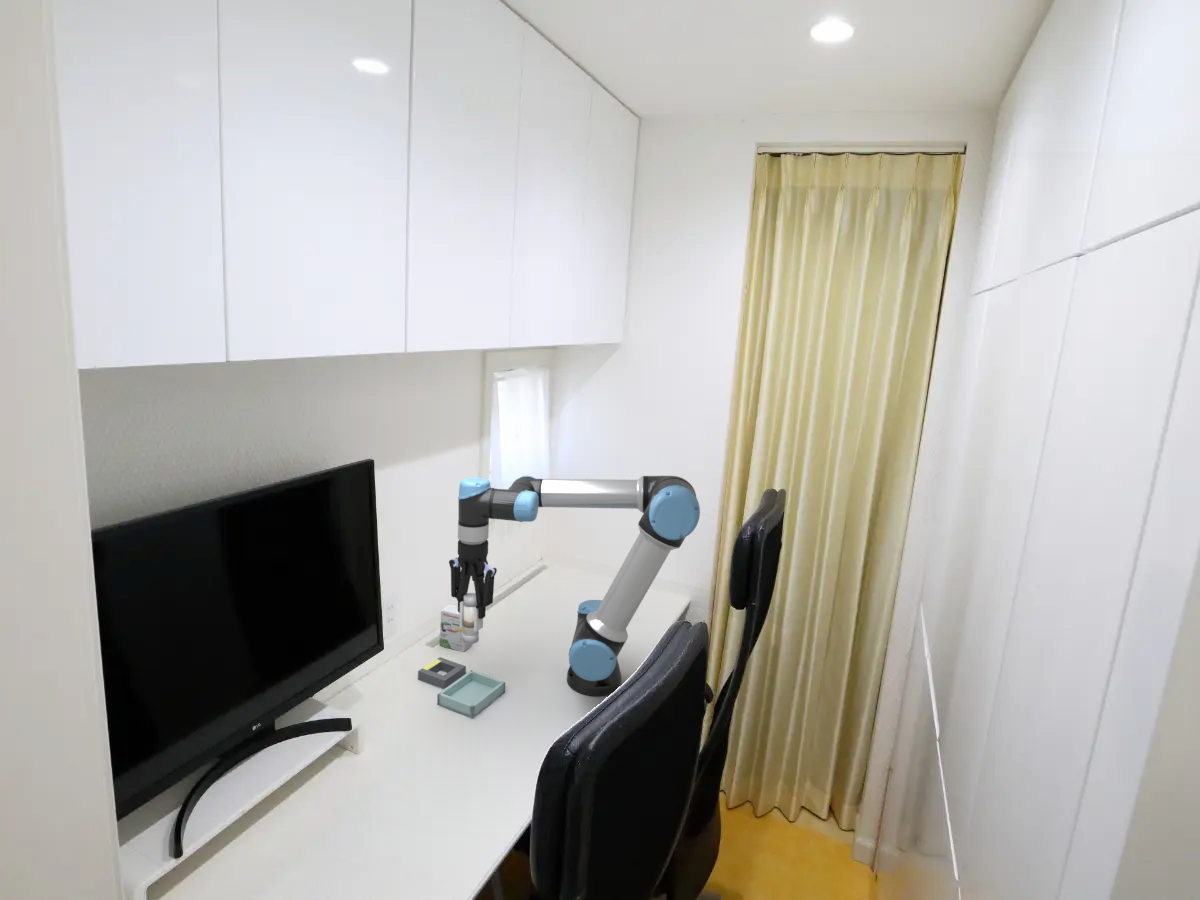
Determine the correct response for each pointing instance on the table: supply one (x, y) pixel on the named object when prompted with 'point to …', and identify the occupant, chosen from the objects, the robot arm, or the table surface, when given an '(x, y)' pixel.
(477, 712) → the parts tray
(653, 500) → the robot arm
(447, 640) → the ink box
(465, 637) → the grey-white banded cylinder
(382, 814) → the table surface
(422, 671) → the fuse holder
